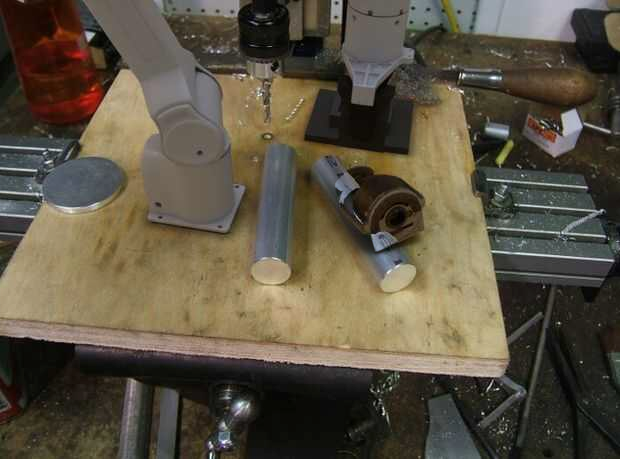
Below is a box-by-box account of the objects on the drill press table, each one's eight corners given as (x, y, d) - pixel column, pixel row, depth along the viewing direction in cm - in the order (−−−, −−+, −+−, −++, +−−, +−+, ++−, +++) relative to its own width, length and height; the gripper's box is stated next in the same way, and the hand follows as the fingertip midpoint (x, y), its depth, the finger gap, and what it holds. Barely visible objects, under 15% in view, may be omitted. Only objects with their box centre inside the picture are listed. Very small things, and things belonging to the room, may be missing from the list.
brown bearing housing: (332, 222, 57) (431, 208, 56) (326, 138, 65) (412, 124, 64) (341, 262, 62) (432, 251, 61) (335, 180, 71) (414, 168, 69)
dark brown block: (337, 146, 61) (340, 115, 58) (343, 126, 64) (345, 95, 61) (382, 153, 61) (387, 122, 58) (386, 132, 64) (391, 101, 61)
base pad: (304, 140, 76) (305, 121, 74) (319, 94, 84) (320, 76, 82) (407, 154, 74) (411, 136, 72) (412, 106, 83) (415, 88, 81)
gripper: (417, 45, 46) (394, 173, 56) (425, -21, 56) (404, 97, 66) (333, 35, 47) (324, 163, 56) (356, -29, 57) (345, 89, 67)
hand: (363, 127), depth 61 cm, fingers closed on dark brown block, 4 cm apart
